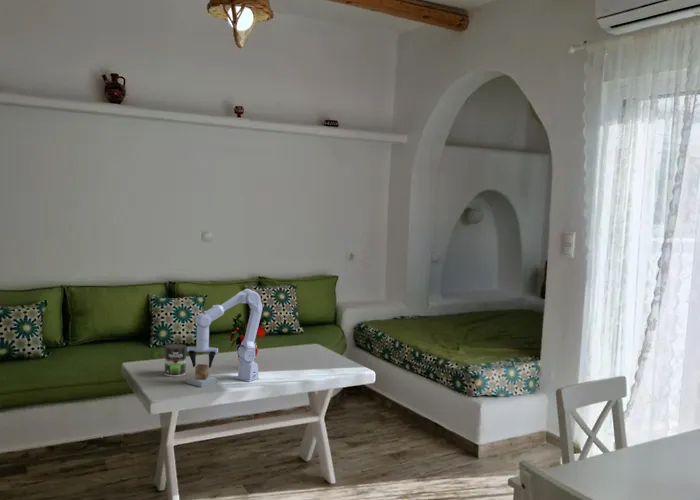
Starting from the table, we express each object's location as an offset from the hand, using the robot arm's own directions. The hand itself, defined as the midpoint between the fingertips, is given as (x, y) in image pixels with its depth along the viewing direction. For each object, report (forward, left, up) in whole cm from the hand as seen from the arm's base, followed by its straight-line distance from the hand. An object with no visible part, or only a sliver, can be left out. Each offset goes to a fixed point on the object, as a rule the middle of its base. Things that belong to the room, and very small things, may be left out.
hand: (202, 366), depth 290 cm
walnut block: (0, 0, -6) cm, 6 cm away
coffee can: (+20, -2, -8) cm, 22 cm away
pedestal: (0, 0, -8) cm, 8 cm away
